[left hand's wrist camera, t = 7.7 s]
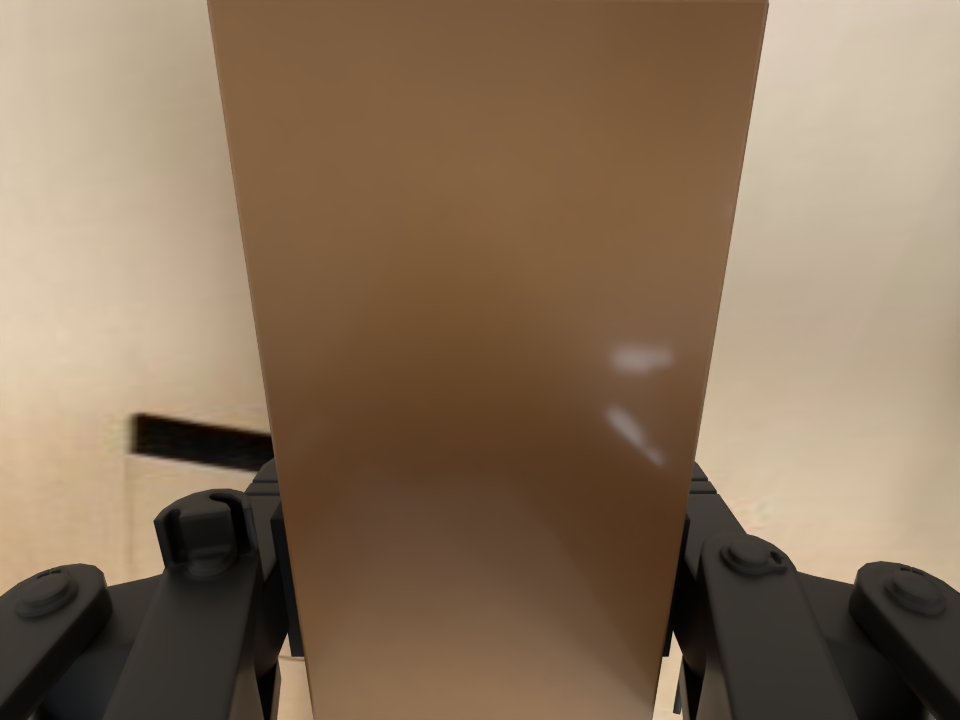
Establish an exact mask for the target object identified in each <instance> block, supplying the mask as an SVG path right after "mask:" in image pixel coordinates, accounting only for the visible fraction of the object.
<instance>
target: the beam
mask: <svg viewBox="0 0 960 720" xmlns="http://www.w3.org/2000/svg"><path fill="white" fill-rule="evenodd" d="M207 5H208V12H209V19H210V26H211V32H212V39H213V46H214V53H215V59H216V66H217V73H218V79H219V86H220V93H221V100H222V106H223V113H224V120H225V127H226V133H227V140H228V147H229V153H230V160H231V167H232V174H233V180H234V187H235V194H236V201H237V207H238V214H239V221H240V227H241V234H242V241H243V248H244V254H245V261H246V268H247V274H248V281H249V288H250V295H251V301H252V308H253V315H254V322H255V328H256V335H257V342H258V348H259V355H260V362H261V369H262V375H263V382H264V389H265V396H266V402H267V409H268V416H269V422H270V429H271V436H272V443H273V449H274V456H275V463H276V469H277V476H278V483H279V490H280V496H281V503H282V510H283V517H284V523H285V530H286V537H287V543H288V550H289V557H290V564H291V570H292V577H293V584H294V591H295V597H296V604H297V611H298V617H299V624H300V631H301V638H302V644H303V651H304V658H305V664H306V671H307V678H308V685H309V691H310V698H311V705H312V712H313V718H314V720H652V718H653V712H654V706H655V700H656V693H657V687H658V681H659V675H660V669H661V663H662V657H663V651H664V644H665V638H666V632H667V626H668V620H669V614H670V608H671V602H672V595H673V589H674V583H675V577H676V571H677V565H678V559H679V553H680V546H681V540H682V534H683V528H684V522H685V516H686V510H687V504H688V497H689V491H690V485H691V479H692V473H693V467H694V461H695V455H696V448H697V442H698V436H699V430H700V424H701V418H702V412H703V405H704V399H705V393H706V387H707V381H708V375H709V369H710V363H711V356H712V350H713V344H714V338H715V332H716V326H717V320H718V314H719V307H720V301H721V295H722V289H723V283H724V277H725V271H726V265H727V258H728V252H729V246H730V240H731V234H732V228H733V222H734V216H735V209H736V203H737V197H738V191H739V185H740V179H741V173H742V167H743V160H744V154H745V148H746V142H747V136H748V130H749V124H750V118H751V111H752V105H753V99H754V93H755V87H756V81H757V75H758V69H759V62H760V56H761V50H762V44H763V38H764V32H765V26H766V20H767V13H768V7H769V1H768V0H207Z"/></svg>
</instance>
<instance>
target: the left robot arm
mask: <svg viewBox="0 0 960 720" xmlns="http://www.w3.org/2000/svg"><path fill="white" fill-rule="evenodd" d="M154 525H155V529H156V533H157V537H158V541H159V545H160V549H161V553H162V557H163V561H164V565H165V569H164V571H163V573H162V574H160V575H157V576H153V577H150V578H146V579H141V580H136V581H132V582H127V583H123V584H118V585H113V586H109V587H107V584H106V580H105V577H104V574H103V572H102V571H101V570H99V569H98V568H97V567H96V566H93V565H87V564H81V563H80V564H72V565H64V566H59V567H56V568H51V569H50V570H49V569H48V570H45V571H43V572H40V573H38V574H36V575H34V576H32V577H30V578H28V579H26V580H24V581H22V582H20V583H18V584H17V585H15V586H14V587H13V588H11V589H10V590H9V591H7V592H6V593H5V594H3V595H2V596H1V597H0V720H277V715H278V705H279V696H280V686H281V674H280V667H279V661H278V655H279V653H280V650H281V648H282V645H283V643H284V640H285V638H286V635H287V633H288V637H289V643H290V649H291V656H292V657H304V651H303V644H302V638H301V631H300V624H299V617H298V611H297V604H296V597H295V591H294V584H293V577H292V570H291V564H290V557H289V550H288V543H287V537H286V530H285V523H284V517H283V510H282V503H281V496H280V490H279V483H278V476H277V469H276V463H275V457H274V458H273V459H272V460H270V461H269V462H267V463H266V464H264V465H263V466H262V468H261V469H260V471H259V472H258V473H257V475H256V476H255V478H254V479H253V483H251V484H250V485H249V486H248V488H247V489H246V491H245V492H244V493H243V492H241V491H237V490H233V489H211V490H206V491H202V492H197V493H193V494H191V495H188V496H186V497H184V498H181V499H179V500H177V501H175V502H174V503H172V504H171V505H169V506H168V507H166V508H165V509H163V510H162V511H161V512H160V513H159V515H158V516H157V517H156V518H155V520H154ZM673 632H674V634H675V637H676V639H677V641H678V644H679V646H680V649H681V651H682V654H683V656H682V661H681V667H680V673H679V679H678V685H677V690H676V696H675V702H674V709H673V713H675V714H680V713H681V707H682V714H683V720H935V719H936V720H960V593H959V592H957V591H956V590H955V589H953V588H952V587H951V586H949V585H948V584H946V583H945V582H944V581H942V580H940V579H938V578H936V577H934V576H932V575H930V574H928V573H926V572H924V571H922V570H920V569H917V568H914V567H910V566H907V565H903V564H900V563H892V562H884V561H879V562H872V563H866V564H865V565H864V566H863V567H861V568H860V569H859V570H858V572H857V575H856V579H855V582H854V585H853V584H849V583H844V582H839V581H835V580H830V579H825V578H821V577H816V576H812V575H808V574H805V573H801V572H798V571H797V570H796V568H795V566H794V564H793V563H792V562H791V560H790V559H789V557H788V556H787V555H786V554H785V553H784V552H782V551H781V550H780V549H779V548H777V547H776V546H775V545H773V544H771V543H769V542H767V541H765V540H763V539H761V538H759V537H756V536H753V535H749V534H747V533H746V532H745V531H744V529H743V528H742V526H741V525H740V523H739V522H738V521H737V519H736V518H735V516H734V515H733V514H732V512H731V511H730V509H729V508H728V506H727V505H726V504H725V502H724V501H723V499H722V498H721V496H720V495H719V494H717V491H716V489H715V488H714V486H713V485H712V484H711V482H710V481H708V478H707V476H706V475H705V474H704V472H703V471H702V469H701V468H700V466H699V465H698V464H697V463H696V462H694V467H693V473H692V479H691V485H690V491H689V497H688V504H687V510H686V516H685V522H684V528H683V534H682V540H681V546H680V553H679V559H678V565H677V571H676V577H675V583H674V589H673V595H672V602H671V608H670V614H669V620H668V626H667V632H666V638H665V644H664V651H663V657H669V652H670V645H671V639H672V633H673Z"/></svg>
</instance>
